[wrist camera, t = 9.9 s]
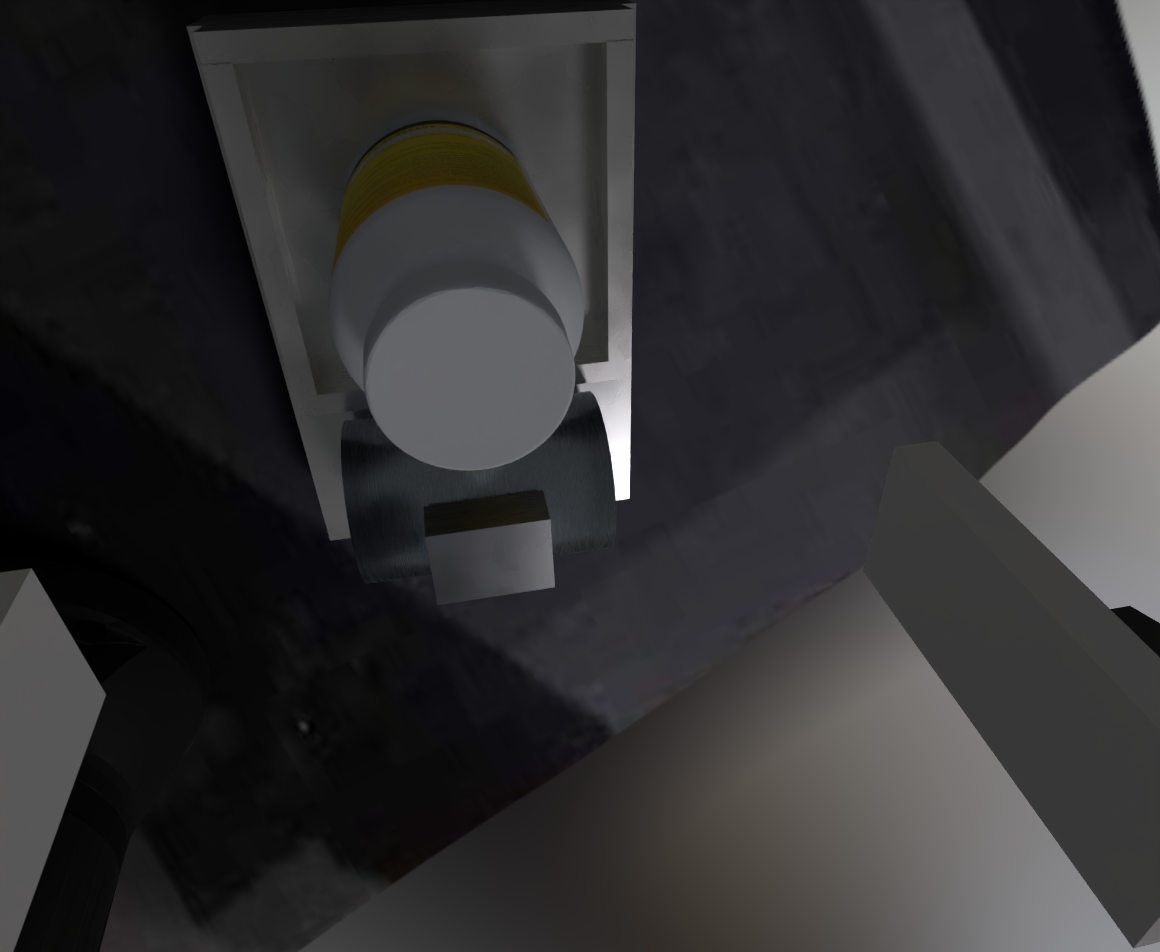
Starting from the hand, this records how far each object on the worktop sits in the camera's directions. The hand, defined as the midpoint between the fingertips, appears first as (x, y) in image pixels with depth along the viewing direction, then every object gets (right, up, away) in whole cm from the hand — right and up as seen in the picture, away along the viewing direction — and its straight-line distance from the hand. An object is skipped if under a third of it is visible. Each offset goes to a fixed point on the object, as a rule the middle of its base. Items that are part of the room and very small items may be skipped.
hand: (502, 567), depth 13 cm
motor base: (-4, +9, +18) cm, 21 cm away
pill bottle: (-3, +10, +14) cm, 18 cm away
